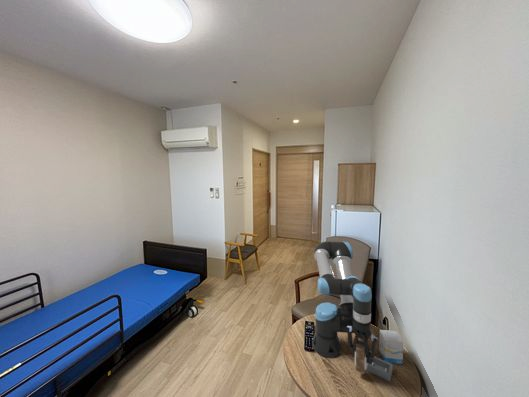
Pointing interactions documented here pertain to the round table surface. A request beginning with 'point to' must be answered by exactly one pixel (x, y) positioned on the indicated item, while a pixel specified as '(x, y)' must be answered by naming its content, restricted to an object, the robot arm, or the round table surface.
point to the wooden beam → (360, 356)
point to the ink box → (391, 346)
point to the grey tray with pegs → (380, 368)
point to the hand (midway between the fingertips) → (360, 365)
